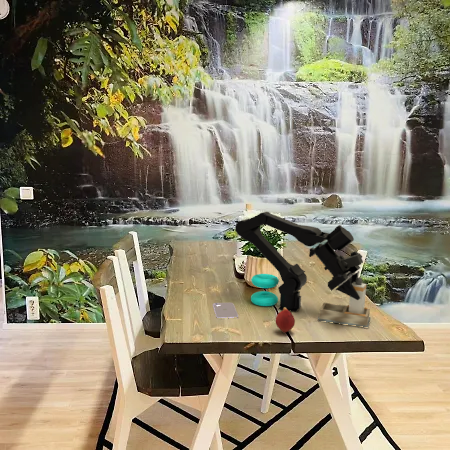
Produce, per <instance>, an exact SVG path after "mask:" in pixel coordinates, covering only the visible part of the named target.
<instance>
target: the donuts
mask: <svg viewBox="0 0 450 450" xmlns="http://www.w3.org/2000/svg"><path fill="white" fill-rule="evenodd" d="M250 283H252V285H253V286H255V287H257V288H261V289H272V288H275V287H277V286H278V285H279V283H280V281H279V278H278V276H276V275H273V274H272V273H271V274H270V273H258V274H254V275H253V276H252V277H251V282H250ZM250 301H251V302H252V304H253V305H256V306H259V307H260V306H261V307H272V306H275V305H276V304H277V303H278V302H279V297H278V296H277V294H275V293H274V292H271V291H266V290H261V291H256V292H254V293H252V295H251V296H250Z"/></svg>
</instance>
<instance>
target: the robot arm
mask: <svg viewBox="0 0 450 450" xmlns="http://www.w3.org/2000/svg"><path fill="white" fill-rule="evenodd" d="M264 225H265V226H268V227H270V228H273V229H275V230H278V231H280V232H283V233H286V234H287V235H290V236H292V237H293V238H295V239H296V240H297V241H298V242H299V243H301V244H303V245H304V246H306V247H311V248H309V253H308V254H309V255H308V257H309V258H311V257H313V256H315V255H316V257H317V258H318V259H319V261H320V262H321V263H322V265H324V267H323V269H324V270H325V271H328V272H329V273H330V274H331V276H332V277H331V279H330V280H329V281H328V282H327V287H328V289H329V290H330V291H333V290H334V289H335V291H339V292H341V293H343V294H345V295H346V296H349V298H350V297H352V298H354V299H356V300H359V299H360V297H359V295H358V293H357V292H356V290H355V289H354V287H353V285H352V283H353V282H356V278H359V273H360V271H359V270H360V269H361V267H360V265H362V264H364V260H363V255H362V254H361V253H359V252H358V251H357V250H355V251H352V252H350V256H347V257H344V256H343V255H341V254H338V253H337V252H336V251H339V252H341V251H342V250H343V249H345V248H346V247H348V245H350V244H351V243H352V242H354V240H355V239H354V236H353V235H352V233H351V232H350V231H349V230H347V229H346V228H345V227H343V226H342V225H341V224H338V225H337V226H336V227H335V228H334V229H333V230H332V231H331V232H325V231H322V230H321V229H320V228H319V227H315V226H312V225H311V226H310V225H303V224H298V223H296V222H293V221H291V220H287V219H285V218H283V217H280V216H277V215H275V214H272V213H271V212H270V211H262V212H260V213H258V214H257V215H255V216H253V217H251V218H245V219H242V220H238V222H236V224H235V233H236V234H237V235H238V236H239V237H240V238H242V239H243V240H245V241H247V242H248V243H250V244H253V246H254V247H255V248H256V249H257V250H258V251H259V252H260V253H261V254H262V255H263V257H264V258H265V259H266V260H267V261H268V262H269V263H270V264H271V265H272V266H273V267H274V269H275V270H276V271H278V273H279V276H280V279H281V281H282V282H283V283H282V284H281V285H279V286H278V292H279V294H280V296H279V298H280V299H279V302H280V303H279V307H278V310H279V309H280V311H283V308H286V309H287V310H288V311H290V312H291V313H292V312H294V313H297V312H298V310H299V309H301V307H302V296H301V294H300V292H301V289H302V288H303V286H305V285H306V284H307V280H308V277H307V274H306V271H305V270H304V269H302V268H301V266H300V265H299V264H298V263H295V264H291V263H289V262H288V260H287V259H285V257H284V256H282V255H281V253H280V252H279V251H278V250H277V249H276V248H275V247H274V246H273V245H272V244H271V243H270V242H269V240H267V239H266V237H265V236H264V235H263V234H262V230H261V228H260V227H262V226H264ZM323 242H324V244H323ZM315 245H316V246H315ZM313 246H315V247H313Z"/></svg>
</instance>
